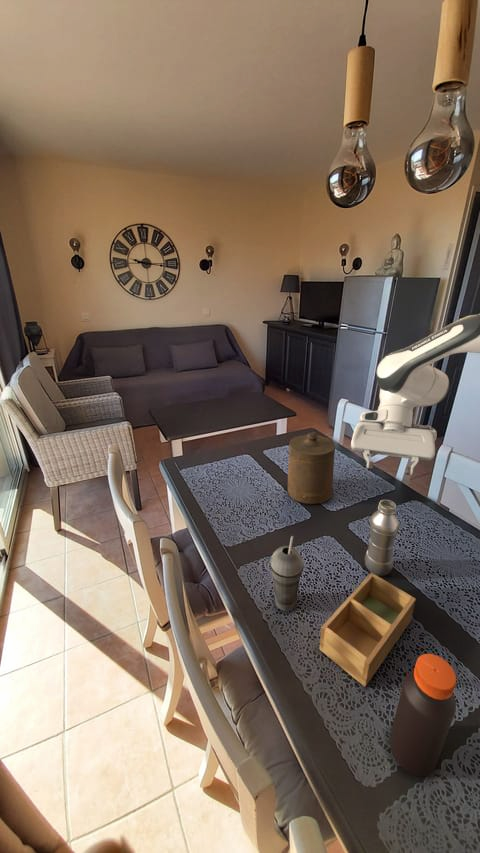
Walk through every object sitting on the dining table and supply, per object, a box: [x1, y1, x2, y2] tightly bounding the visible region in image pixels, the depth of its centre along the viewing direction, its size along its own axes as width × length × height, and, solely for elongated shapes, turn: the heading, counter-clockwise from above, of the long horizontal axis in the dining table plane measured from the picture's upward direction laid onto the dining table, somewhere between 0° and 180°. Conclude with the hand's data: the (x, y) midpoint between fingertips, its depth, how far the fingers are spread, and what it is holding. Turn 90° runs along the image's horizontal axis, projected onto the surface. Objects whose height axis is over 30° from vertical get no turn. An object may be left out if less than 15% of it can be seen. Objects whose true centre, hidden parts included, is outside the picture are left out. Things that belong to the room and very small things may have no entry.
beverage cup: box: [269, 535, 304, 612], centre depth 79 cm, size 7×7×20 cm
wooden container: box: [287, 431, 336, 505], centre depth 119 cm, size 15×15×22 cm
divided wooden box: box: [319, 572, 417, 688], centre depth 74 cm, size 10×19×7 cm, turn 133°
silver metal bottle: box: [364, 499, 400, 577], centre depth 87 cm, size 6×7×20 cm
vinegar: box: [389, 653, 457, 778], centre depth 53 cm, size 7×7×20 cm
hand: (388, 471), depth 92 cm, fingers open, 8 cm apart
